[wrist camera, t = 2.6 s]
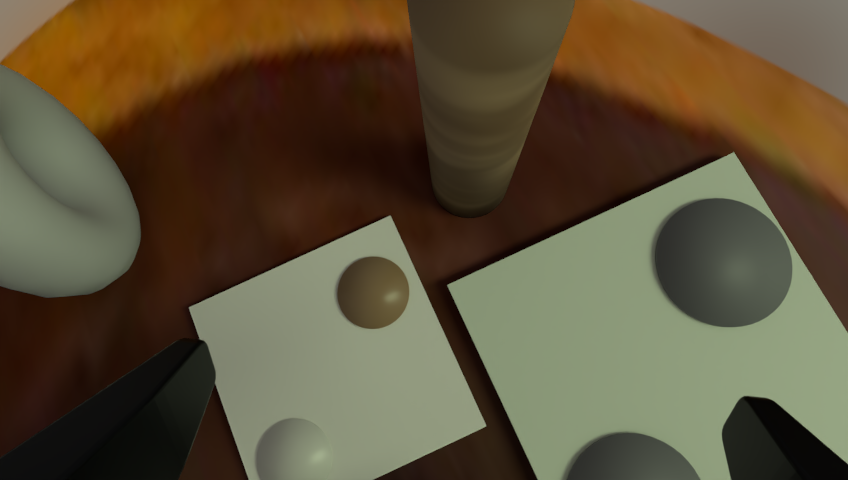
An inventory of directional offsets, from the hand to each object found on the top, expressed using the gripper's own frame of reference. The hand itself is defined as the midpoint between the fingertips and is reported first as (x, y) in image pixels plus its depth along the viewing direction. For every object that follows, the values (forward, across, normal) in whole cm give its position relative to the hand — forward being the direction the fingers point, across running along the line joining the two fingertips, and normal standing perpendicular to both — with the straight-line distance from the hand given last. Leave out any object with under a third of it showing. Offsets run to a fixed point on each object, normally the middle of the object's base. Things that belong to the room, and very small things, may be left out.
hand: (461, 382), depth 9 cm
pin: (+15, 0, +4) cm, 16 cm away
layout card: (+9, +5, +10) cm, 15 cm away
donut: (+13, +17, +6) cm, 22 cm away
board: (+10, -9, +9) cm, 16 cm away
